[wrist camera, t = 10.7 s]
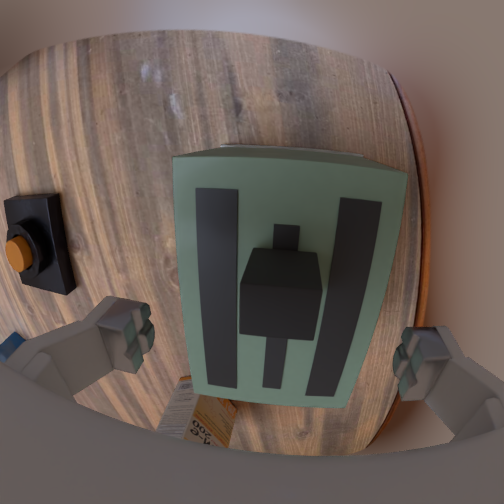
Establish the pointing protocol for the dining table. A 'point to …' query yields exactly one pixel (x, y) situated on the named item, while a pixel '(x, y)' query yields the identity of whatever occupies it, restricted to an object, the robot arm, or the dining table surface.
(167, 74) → the dining table surface
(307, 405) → the toaster
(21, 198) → the button block
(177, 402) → the supplement box
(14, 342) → the perfume bottle
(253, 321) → the block
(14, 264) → the button
